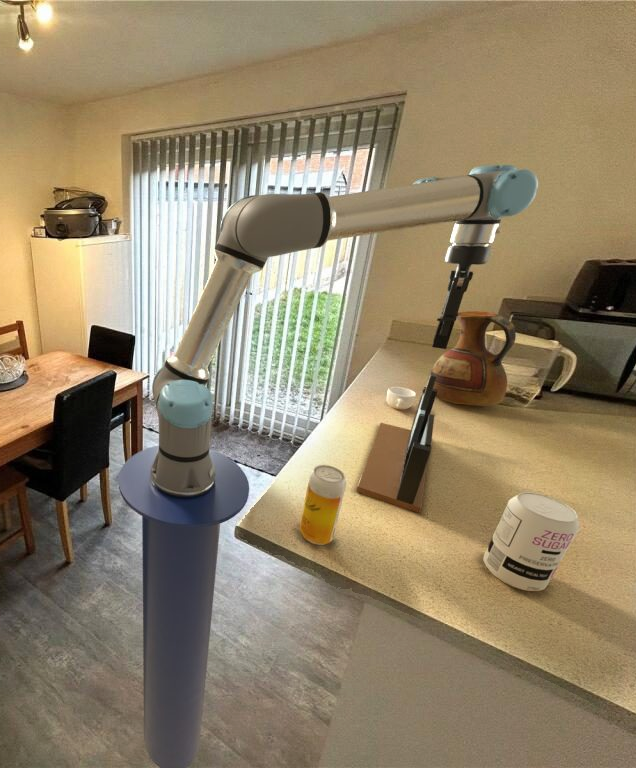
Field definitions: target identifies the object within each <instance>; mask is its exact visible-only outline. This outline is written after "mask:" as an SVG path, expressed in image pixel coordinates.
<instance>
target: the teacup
mask: <svg viewBox="0 0 636 768" xmlns="http://www.w3.org/2000/svg"><path fill="white" fill-rule="evenodd" d="M416 397H417V393H416V392H415V391H414V390H412V389H410V388H406V387H402V386H391V387H389V388H388V389H387V393H386V403H387V404H388V406H389V407H391V408H393V409H396V410H407V409H410V408H411V407H412V406H413V404H414V403H415V400H416Z"/></svg>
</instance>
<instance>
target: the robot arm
mask: <svg viewBox="0 0 636 768" xmlns="http://www.w3.org/2000/svg"><path fill="white" fill-rule="evenodd" d="M538 187H539V180H538V177H537V175H536V174H535V173H534V172H533V171H531V170H529V169H526V168H519V169H517V167H516V166H515V165H513V164H495V165H493V164H492V165H482V166H475V167H473V168H472V169H471V170H470V172H469V174H464V175H453V176H446V177H436V176H433V177H432V176H431V177H426V178H420V179H418V180H416V181H414V182H413V183H411V184H406V185H399V186H392V187H385V188H379V189H378V188H377V189H371V190H366V191H365V190H364V191H359V192H351V193H346V194H339V195H331V196H328V194H326V193H325V192H323V191H320V192H319V191H318V192H313V193H296V194H293V193H266V194H260V195H259V194H255V195H248V196H244V197H241V198H240V199H238V200H236V201H235V202H234V203H233V204H231V205H230V206H229V208H227V209H226V211H225V212H224V215H223V216H222V219H221V222H220V230H219V231H220V235H219V237H218V240H217V242H216V244H215V247H214V249H213V253H214V254H215V259H216V261H215V263H214V266H213V268H212V270H211V272H210V274H209V277H208V280H207V282H206V284H205V286H204V288H203V290H202V292H201V295H200V297H199V300H198V302H197V304H196V307H195V309H194V311H193V313H192V316H191V317H190V320H189V321H188V324H187V327H186V329H185V331H184V334H183V336H182V338H181V340H180V342H179V345H178V347H177V350H176V352H175V354H171V355H169V356H167V357H166V359H165V362H164V364H163V366H162V367H161V368H159V369H158V370H157V372H156V373H155V375H154V377H153V380H152V384H151V389H152V397H153V399H154V404H155V408H156V413H157V417H158V446H159V450H158V453H157V455H156V458H155V460H154V463H153V465H152V468H151V481H152V484H153V485H154V487H155V488H156V489H157V490H158V491H160V492H161V493H163V494H165V495H167V496H170V497H173V498H178V499H193V498H198V497H201V496H204V495H206V494H207V493H209V492H210V491H211V490H212V489H213V487H214V484H215V471H214V466H213V464H212V461H211V458H210V454H209V449H210V446H211V445H210V443H211V434H212V433H211V432H212V419H213V413H214V401H213V399H214V398H213V395H212V392H211V391H210V389H209V388H208V387H207V384H208V382H209V380H210V377H211V374H210V372H209V369H208V367H209V365H210V363H211V361H212V360H213V357H214V355H215V353H216V350H217V349H218V347H219V344H220V342H221V341H222V339H223V336H224V334H225V332H226V330H227V328H228V326H229V324H230V322H231V319H232V317H233V315H234V313H235V311H236V309H237V307H238V305H239V303H240V301H241V299H242V297H243V295H244V293H245V290H246V289H247V287H248V285H249V283H250V280H251V278H252V276H253V275H254V274H256V273H258V272H260V271H263V269H264V267H265V266H266V263H267V261H268V259H269V258H272V257H277V256H278V257H279V256H283V255H287V254H291V253H292V254H293V253H296V252H303V251H307V250H312V249H319V248H322V247H324V246H325V245H326V244H327V242H328V241H334V240H335V241H336V240H341V239H348V238H354V237H355V238H356V237H360V236H361V237H362V236H367V235H373V234H380V233H388V232H394V231H399V230H400V231H401V230H405V229H413V228H419V227H425V226H433V225H439V224H440V225H441V224H446V223H453V222H455V223H454V225H453V229H452V232H451V236H450V240H449V242H450V244H451V245H449V246H447V250H446V254H445V258H444V262H445V263H447V264H453V265H454V264H456V269H455V270H450V274H449V282H448V285H447V288H446V289H447V295H446V298H445V301H444V304H443V307H442V309H441V310H442V311H441V313H440V314H441V315H440V316H439V317H437V319H436V321H437V322H438V324H437V327H436V330H435V333H434V337H433V341H432V345H431V346H432V347H431V348H435V349H442V350H447V347H448V344H449V341H450V338H451V335H452V332H453V329H454V325H455V323H456V321H457V320H458V319H457V318H456V317H458V315H459V313H458V312H459V310H460V307H461V303H462V300H463V297H464V295H465V293H467V291H468V288H469V284H470V282H471V280H472V279H473V276H474V271H471V267H472V265H477V266H478V265H485V264H487V263H488V261H489V258H490V255H491V252H492V246H490V244H493V243H494V241H495V238H496V234H500V233H501V232H502V228H499V226H500V224H501V222H502V218H504V217H505V218H507V217H512V216H516V215H518V214H520V213H521V212H523V211H525V210H526V209H527V208H528V207H529V206H530V205H531V204H532V202H533V201H534V200H535V198H536V196H537V192H538Z"/></svg>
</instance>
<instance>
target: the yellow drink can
mask: <svg viewBox="0 0 636 768" xmlns="http://www.w3.org/2000/svg"><path fill="white" fill-rule="evenodd" d="M346 487H347V479H346V474H345V473H344V471H342V470H340V468H337V467H335V466H333V465H327V464H318V465H316V466H315V467H313V469H312V470H311V471H310V474H309V477H308V482H307V488H306V492H305V498H304V503H303V508H302V514H301V519H300V523H299V532H300V534H301V535H302V536H303V538H304V539H305V540H306V541H308V542H309V543H311V544H314V545H317V546H318V545H319V546H323V545H327V544H329V543H331V542H332V541H333V539H334V535H335V533H336V532H335V531H336V527H337V524H338V520H339V515H340V511H341V508H342V504H343V499H344V496H345V495H344V494H345V491H346Z"/></svg>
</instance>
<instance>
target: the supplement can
mask: <svg viewBox="0 0 636 768" xmlns="http://www.w3.org/2000/svg"><path fill="white" fill-rule="evenodd" d="M578 519H579V515H578V513H577V512H576V511H575V509H574V508H572V507H570V505H568V504H567V503H565V502H563V501H561V500H559V499H557V498H554V497H551V496H549V495H547V494H543V493H538V492H532V491H531V492H530V491H524V492H520V493H518V494H517V495H515V496H514V497H512V498H510V499H509V500H508V501H507V504H506V507H505V509H504V511H503V513H502V514H501V517H500V520H499V522H498V524H497V526H496V528H495V531H494V533H493V536H492V537H491V539H490V541H489V543H488V546H487V547H486V550H485V552H484V554H483V562H484V564H485V566H486V568H487V569H488V571H489V572H491V574H492V575H493V576H494V577H496V578H497V579H498V580H500V581H501V582H503V583H505V584H506V585H509V586H510V587H512V588H515V589H518V590H522V591H529V592H538V591H544V589H545V588H547V586H548V585H549V583H550V581H551V579H553V578H552V577H553V576H554V575H555V572H556V571H557V569H558V567H559V566H560V564H561V562H562V560H563V558H564V557H565V555H566V553H567V552H568V550H569V548H570V546H571V544H572V542H573V541H574V539H575V538H576V536H577V534H578V532H579V531H580V523H579V520H578Z"/></svg>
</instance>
